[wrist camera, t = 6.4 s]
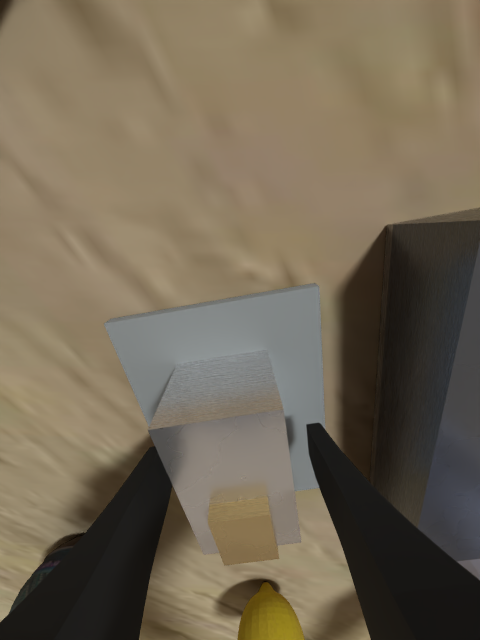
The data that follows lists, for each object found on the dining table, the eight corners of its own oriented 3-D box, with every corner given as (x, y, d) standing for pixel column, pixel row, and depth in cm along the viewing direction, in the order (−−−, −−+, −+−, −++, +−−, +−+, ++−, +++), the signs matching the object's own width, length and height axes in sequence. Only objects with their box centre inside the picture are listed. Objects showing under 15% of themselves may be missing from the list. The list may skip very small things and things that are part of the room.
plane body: (448, 479, 16) (513, 554, 12) (369, 489, 16) (409, 566, 12) (522, 200, 9) (716, 178, 6) (386, 224, 9) (484, 220, 6)
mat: (324, 477, 16) (327, 486, 15) (185, 496, 16) (183, 505, 15) (314, 283, 10) (319, 286, 10) (110, 318, 11) (103, 323, 10)
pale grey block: (283, 459, 14) (305, 560, 10) (211, 469, 14) (201, 573, 10) (267, 349, 11) (287, 424, 7) (176, 363, 11) (140, 445, 7)
